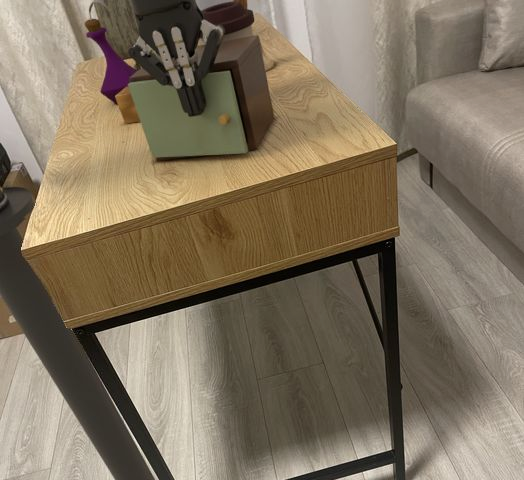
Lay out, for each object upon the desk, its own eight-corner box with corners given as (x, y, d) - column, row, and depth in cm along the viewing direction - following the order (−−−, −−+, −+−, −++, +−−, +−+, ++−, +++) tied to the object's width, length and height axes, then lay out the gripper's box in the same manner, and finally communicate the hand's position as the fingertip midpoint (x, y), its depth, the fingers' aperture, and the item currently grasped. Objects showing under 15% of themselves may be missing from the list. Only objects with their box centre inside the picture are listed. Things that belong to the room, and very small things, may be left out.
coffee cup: (205, 118, 96) (179, 20, 86) (225, 97, 103) (203, 4, 93) (259, 112, 92) (237, 9, 83) (276, 91, 99) (258, -6, 90)
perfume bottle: (106, 108, 114) (68, 9, 103) (114, 97, 120) (80, 1, 108) (140, 101, 113) (106, -1, 102) (148, 90, 119) (116, -8, 107)
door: (149, 160, 83) (123, 86, 76) (155, 155, 84) (130, 82, 78) (243, 156, 77) (224, 75, 70) (248, 150, 78) (230, 70, 71)
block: (124, 124, 103) (114, 96, 100) (135, 114, 107) (125, 86, 104) (148, 120, 102) (139, 92, 99) (158, 110, 105) (150, 82, 102)
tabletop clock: (153, 76, 127) (112, -57, 111) (117, 82, 129) (72, -47, 114) (172, 57, 138) (136, -67, 122) (139, 64, 140) (99, -57, 124)
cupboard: (156, 161, 85) (128, 77, 78) (182, 130, 94) (159, 52, 86) (256, 149, 80) (237, 59, 73) (274, 118, 89) (258, 34, 81)
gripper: (87, -20, 64) (142, 132, 74) (192, -49, 59) (235, 117, 70) (116, -32, 69) (163, 111, 80) (214, -59, 64) (251, 96, 75)
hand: (197, 114), depth 75 cm, fingers closed
